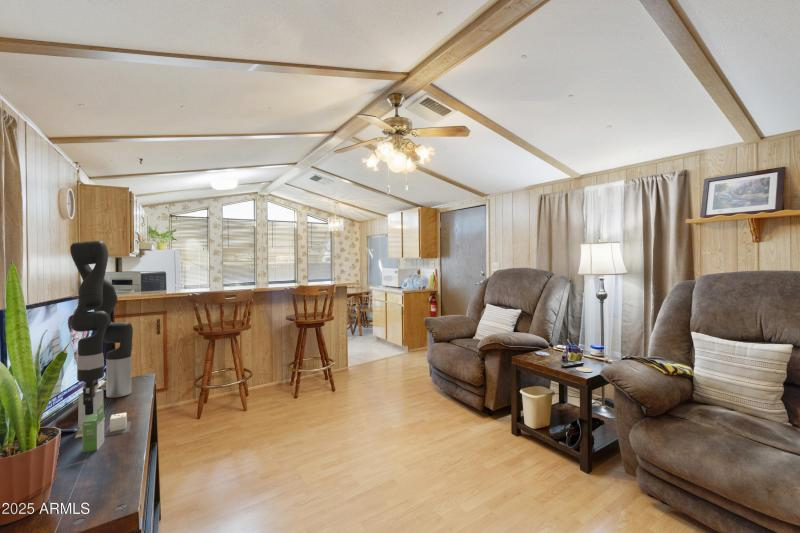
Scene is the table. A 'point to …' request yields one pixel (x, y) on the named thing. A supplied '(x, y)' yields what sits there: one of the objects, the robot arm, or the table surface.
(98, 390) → the skincare box
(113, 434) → the mat
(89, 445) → the ink box
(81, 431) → the board
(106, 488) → the table surface
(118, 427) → the die
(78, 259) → the robot arm
